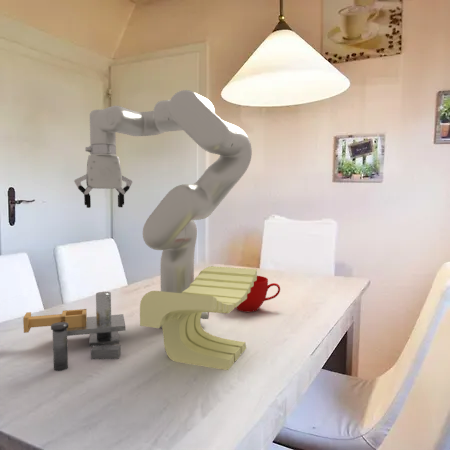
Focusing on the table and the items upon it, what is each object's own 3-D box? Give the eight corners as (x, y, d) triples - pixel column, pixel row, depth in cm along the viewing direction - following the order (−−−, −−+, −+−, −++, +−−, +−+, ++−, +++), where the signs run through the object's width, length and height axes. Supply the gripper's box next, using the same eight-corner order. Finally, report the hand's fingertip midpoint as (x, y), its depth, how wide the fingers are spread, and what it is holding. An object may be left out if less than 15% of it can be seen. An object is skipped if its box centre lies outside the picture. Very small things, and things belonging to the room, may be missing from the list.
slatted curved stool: (200, 329, 109) (200, 265, 108) (256, 336, 104) (256, 269, 103) (140, 375, 81) (139, 289, 80) (212, 388, 76) (213, 296, 75)
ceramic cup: (278, 317, 121) (279, 284, 120) (224, 313, 124) (224, 282, 124) (281, 305, 134) (281, 276, 133) (231, 302, 137) (231, 274, 136)
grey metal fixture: (123, 331, 107) (122, 287, 106) (125, 344, 98) (125, 296, 97) (63, 337, 103) (62, 291, 102) (59, 351, 93) (58, 301, 92)
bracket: (86, 321, 102) (86, 307, 102) (86, 328, 97) (85, 313, 97) (27, 326, 98) (26, 311, 98) (23, 333, 93) (22, 318, 92)
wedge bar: (120, 355, 92) (120, 345, 92) (118, 360, 89) (118, 349, 89) (94, 355, 92) (94, 345, 92) (91, 360, 89) (90, 349, 89)
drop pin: (72, 365, 86) (71, 322, 85) (64, 371, 83) (62, 327, 82) (57, 364, 86) (56, 321, 86) (48, 370, 83) (47, 326, 82)
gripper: (75, 148, 115) (77, 208, 116) (134, 151, 123) (135, 207, 124) (71, 151, 121) (73, 207, 123) (128, 154, 130) (129, 206, 131)
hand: (104, 207), depth 123 cm, fingers open, 9 cm apart
